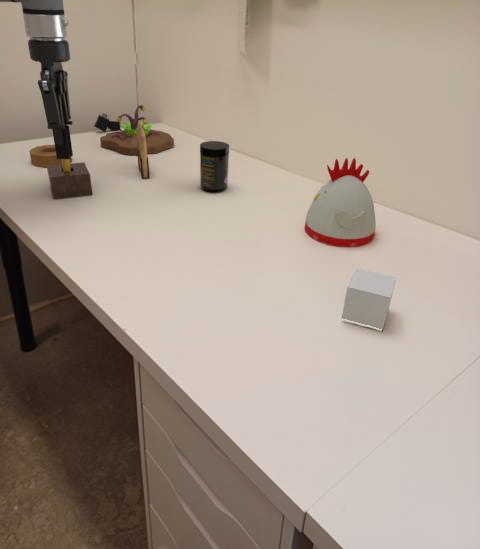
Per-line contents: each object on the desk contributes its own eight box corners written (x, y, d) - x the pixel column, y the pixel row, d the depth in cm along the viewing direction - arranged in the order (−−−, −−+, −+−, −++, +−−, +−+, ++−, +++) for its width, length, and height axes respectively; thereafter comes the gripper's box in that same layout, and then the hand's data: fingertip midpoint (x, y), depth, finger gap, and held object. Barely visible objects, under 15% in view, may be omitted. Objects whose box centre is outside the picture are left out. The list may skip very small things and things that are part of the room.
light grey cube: (388, 310, 73) (396, 277, 70) (382, 332, 68) (390, 297, 65) (349, 300, 75) (356, 267, 71) (340, 321, 70) (347, 286, 67)
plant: (186, 145, 143) (185, 107, 137) (133, 159, 130) (130, 117, 125) (143, 132, 154) (141, 96, 148) (91, 143, 141) (87, 104, 136)
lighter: (113, 136, 157) (119, 122, 157) (116, 137, 156) (122, 123, 155) (92, 125, 151) (99, 110, 151) (95, 127, 150) (102, 112, 149)
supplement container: (225, 194, 111) (226, 150, 105) (197, 192, 111) (197, 148, 106) (230, 184, 117) (231, 142, 111) (203, 182, 117) (203, 140, 112)
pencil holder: (53, 199, 104) (49, 177, 102) (50, 186, 111) (46, 165, 108) (92, 195, 107) (89, 173, 105) (87, 182, 114) (84, 162, 111)
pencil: (64, 185, 108) (54, 118, 100) (66, 183, 109) (56, 116, 101) (71, 185, 108) (62, 118, 100) (73, 183, 109) (64, 116, 101)
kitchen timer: (298, 216, 101) (306, 147, 94) (361, 216, 103) (374, 148, 95) (313, 247, 90) (323, 170, 82) (383, 246, 91) (400, 171, 83)
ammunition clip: (149, 178, 118) (146, 129, 112) (142, 178, 117) (138, 129, 111) (145, 164, 127) (142, 119, 121) (138, 165, 126) (135, 119, 120)
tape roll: (26, 166, 122) (24, 155, 120) (38, 155, 130) (36, 144, 129) (66, 167, 122) (64, 156, 121) (75, 155, 131) (74, 145, 129)
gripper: (57, 43, 87) (74, 168, 99) (76, 36, 99) (89, 147, 112) (15, 41, 86) (37, 167, 98) (39, 34, 99) (56, 146, 111)
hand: (64, 156), depth 105 cm, fingers closed on pencil, 1 cm apart
